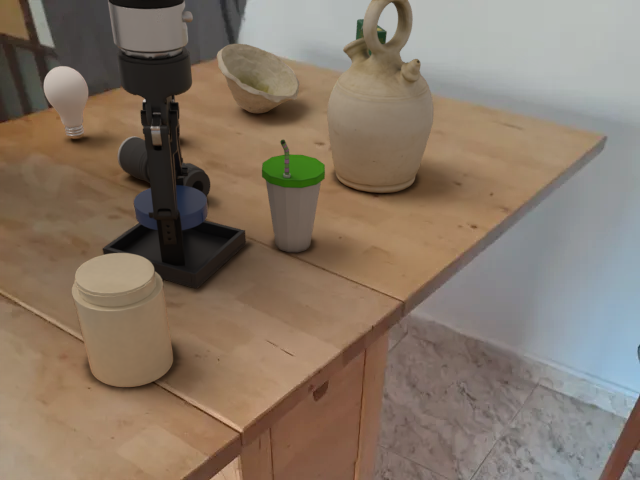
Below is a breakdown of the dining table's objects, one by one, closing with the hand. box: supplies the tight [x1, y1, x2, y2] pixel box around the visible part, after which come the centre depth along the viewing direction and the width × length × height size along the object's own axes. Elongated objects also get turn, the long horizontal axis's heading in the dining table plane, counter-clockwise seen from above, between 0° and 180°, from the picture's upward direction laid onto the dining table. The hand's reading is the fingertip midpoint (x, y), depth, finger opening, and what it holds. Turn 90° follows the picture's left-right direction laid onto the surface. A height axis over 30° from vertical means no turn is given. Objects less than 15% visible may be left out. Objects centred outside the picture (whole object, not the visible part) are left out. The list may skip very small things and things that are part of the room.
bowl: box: [216, 43, 300, 114], centre depth 123 cm, size 15×14×10 cm
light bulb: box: [43, 65, 89, 141], centre depth 110 cm, size 7×7×11 cm
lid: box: [133, 185, 209, 230], centre depth 83 cm, size 9×9×2 cm
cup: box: [261, 139, 326, 253], centre depth 85 cm, size 8×8×15 cm
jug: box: [326, 0, 434, 194], centre depth 98 cm, size 15×16×25 cm
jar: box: [71, 253, 174, 388], centre depth 67 cm, size 8×8×10 cm
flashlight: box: [117, 135, 211, 198], centre depth 99 cm, size 15×5×5 cm, turn 47°
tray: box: [102, 219, 247, 290], centre depth 87 cm, size 13×12×2 cm
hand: (175, 245), depth 87 cm, fingers closed on lid, 9 cm apart
